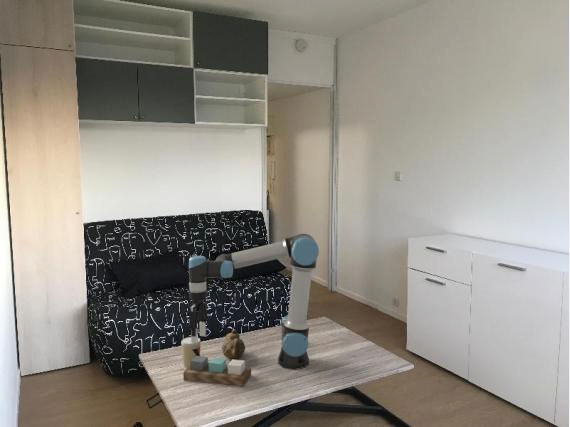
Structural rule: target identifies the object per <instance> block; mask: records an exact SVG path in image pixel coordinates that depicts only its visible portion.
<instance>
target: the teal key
mask: <svg viewBox="0 0 570 427" xmlns="http://www.w3.org/2000/svg"><path fill="white" fill-rule="evenodd" d="M208 363H209V372H216V373H222V372H223V371H224V370H225V369H226V364H227V358H221V357H213V358H212V359H211V360H210V361H208Z"/></svg>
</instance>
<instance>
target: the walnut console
mask: <svg viewBox="0 0 570 427" xmlns="http://www.w3.org/2000/svg"><path fill="white" fill-rule="evenodd" d="M228 364H229V363H228ZM228 364H227V363H226V369H225V370H224V371H223V372H222V373H216V372H209V362H208V366H207V368H206V369H205V370H204V371H198V370H190V366H189V367H186V369H184V371H183V381H185V382H187V381H188V382H195V383H204V384H213V385H220V386H231V387H239V388H243V387H244V386H245V385H246V383H247V382H248V381H249V379H250V378H251V377H252V366H247V365H245V371H244V372H243V373H242V375H235V374H228Z"/></svg>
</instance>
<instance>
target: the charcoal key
mask: <svg viewBox="0 0 570 427" xmlns="http://www.w3.org/2000/svg"><path fill="white" fill-rule="evenodd" d="M208 363H209V358H208V356H201V355H200V356H195V357H194V358H193V359H192V360H191V361H190V370H198V371H204V370H205V369H206V368H207V366H208Z"/></svg>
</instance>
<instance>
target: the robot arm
mask: <svg viewBox="0 0 570 427" xmlns="http://www.w3.org/2000/svg"><path fill="white" fill-rule="evenodd" d="M319 251H320V249H319V245H318V243H317V242H316V241H315V238H314V237H313V236H312V235H310V234H307V233H300V234H296V235H293V236H289V237H285V238H283V240H282V241H277V242H273V243H270V244H264V245H262V246H258V247H253V248H249V249H244V250H240V251H236V252H231V253H227V254H226V253H223V254H220V255H218V256H217V257H216V259H215V260H207V258H206V257H205V256H203V255H193V256H191V257H189V259H188V275H189V276H188V278H189V280H188V281H189V283H188V286H189V287H188V288H189V300H190V301H192V304H191V305H192V306H189V310H188V311H189V316H188V319H189V320H188V329H189V330H190V331H191V332H190V333H191V334H190V337H191V343H198V338H199V337H198V330H199V336H200V337H206V336H207V332H206V331H207V330H206V329H207V328H206V327H207V326H206V323H207V322H208V320H209V319H208V307H207V278H211V279H215V278H216V279H218V278H219V279H220V278H221V279H227V278H228V279H229V278H232V277H233V274H234V270H235V269H240V268H243V267H244V268H245V267H248V266H253V265H256V264H260V263H265V262H270V261H274V260H278V259H282V258H288V259H290V260H289V261H290V262H289V265H290V267H291V268H292V274H291V276H292V277H291V284H290V285H291V286H290V294H289V302H288V303H289V305H288V313H287V316H284V317H282V318H281V322H280V323H281V349H280V352H279V355H278V357H277V364H278V366H280V367H281V366H282V368H284V369H287V368H289V369H288V370H297V369H296V368H300V369H302V368H301V367H304V368H306V367H307V366H308V365H309V364H310V358H309V355H308V352H307V351H308V348H309V344H310V343H309V330H310V325H309V323H308V322H307V321H308V320H307V318H308V310H309V301H310V293H311V292H310V291H311V283H312V275H313V274H312V273H313V271H314V270H315V269H316V268H317V260H318V257H319V253H320V252H319ZM198 320H200V321H199V322H198ZM198 323H199V329H198V328H197V327H198ZM308 363H309V364H308ZM306 365H307V366H306ZM305 366H306V367H305ZM290 368H291V369H290Z"/></svg>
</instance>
